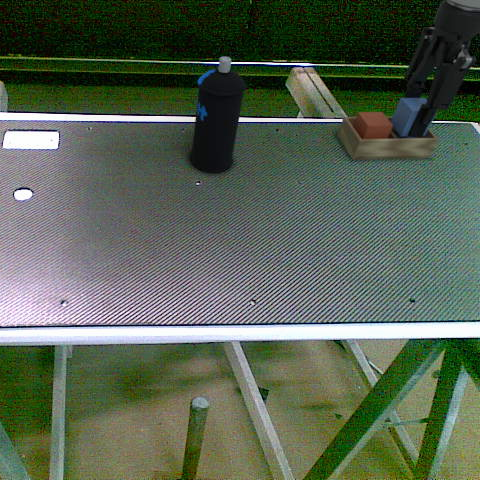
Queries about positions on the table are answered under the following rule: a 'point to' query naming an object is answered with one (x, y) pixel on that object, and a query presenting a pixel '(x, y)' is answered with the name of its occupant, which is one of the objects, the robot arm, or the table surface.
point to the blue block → (407, 115)
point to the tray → (385, 144)
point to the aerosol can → (217, 118)
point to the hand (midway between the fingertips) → (408, 127)
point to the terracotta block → (372, 125)
